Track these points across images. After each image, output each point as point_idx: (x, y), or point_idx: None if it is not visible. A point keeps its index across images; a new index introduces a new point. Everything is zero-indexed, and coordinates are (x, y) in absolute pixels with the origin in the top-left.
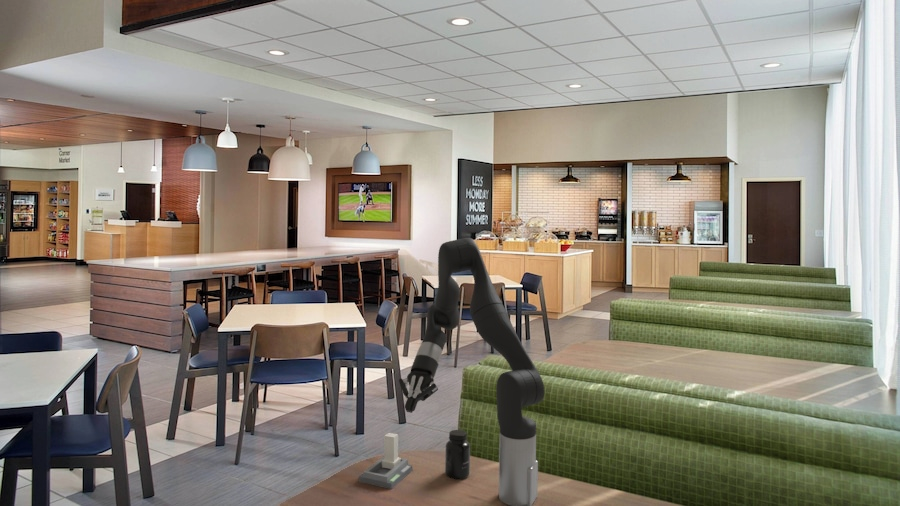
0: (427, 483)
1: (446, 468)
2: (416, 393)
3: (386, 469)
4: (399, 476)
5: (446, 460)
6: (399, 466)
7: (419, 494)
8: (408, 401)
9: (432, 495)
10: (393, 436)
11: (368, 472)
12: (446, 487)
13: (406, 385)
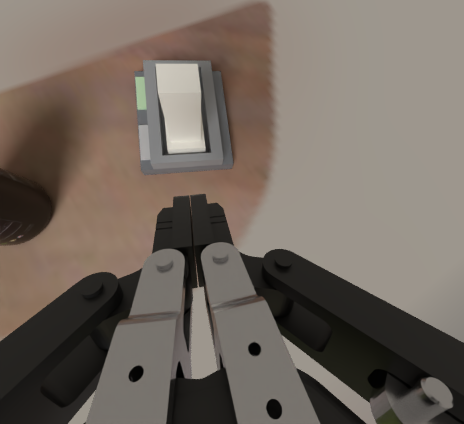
0: (73, 136)
1: (24, 178)
2: (152, 290)
3: None
4: (137, 106)
5: (4, 170)
6: (148, 118)
7: (65, 85)
8: (206, 221)
9: (33, 93)
10: (162, 70)
11: (197, 62)
12: (17, 138)
13: (373, 398)
